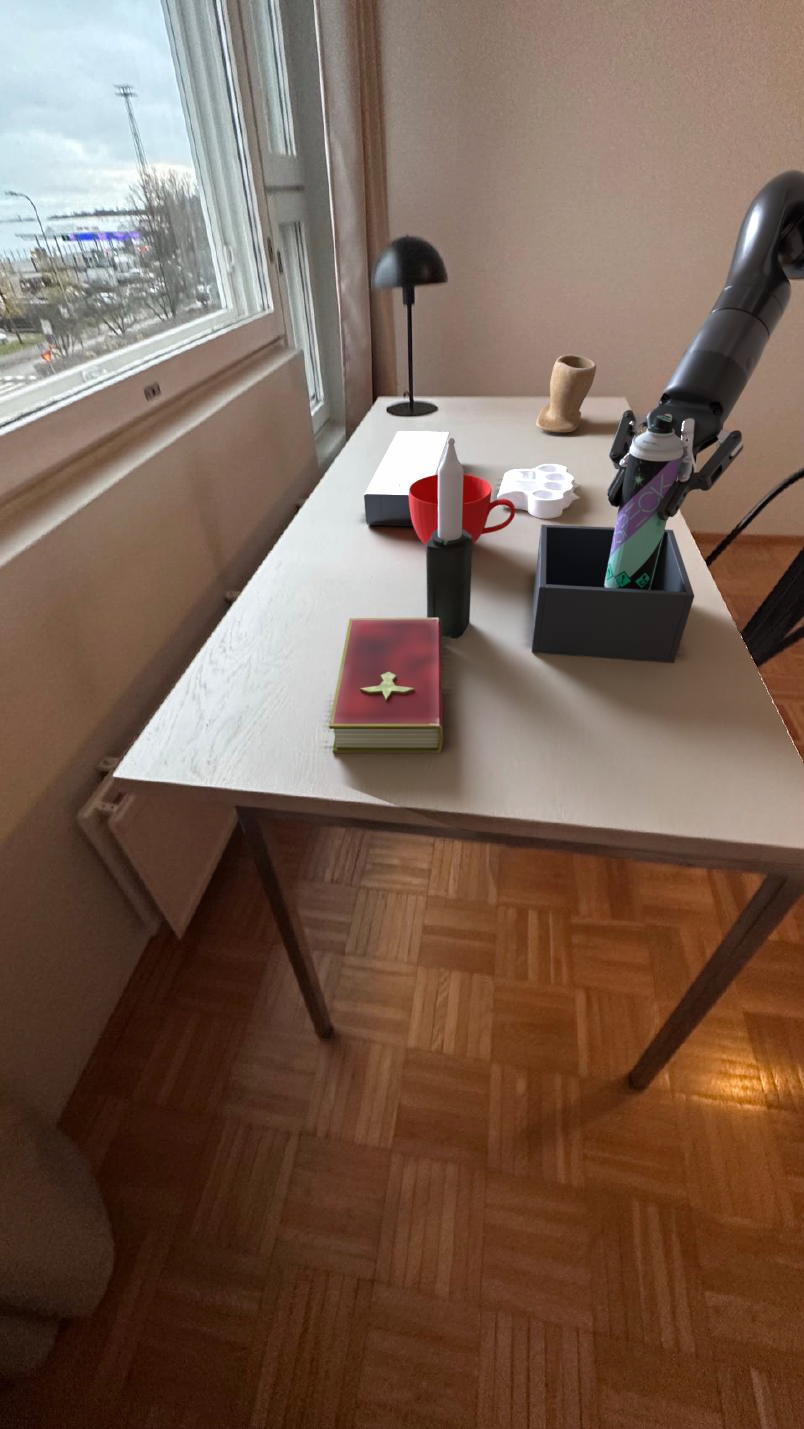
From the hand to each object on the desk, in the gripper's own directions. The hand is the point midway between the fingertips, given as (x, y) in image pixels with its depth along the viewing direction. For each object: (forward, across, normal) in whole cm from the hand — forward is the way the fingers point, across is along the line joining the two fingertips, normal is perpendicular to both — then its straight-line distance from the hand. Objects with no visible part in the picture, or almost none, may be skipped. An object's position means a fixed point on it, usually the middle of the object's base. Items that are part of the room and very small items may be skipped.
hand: (636, 509), depth 71 cm
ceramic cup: (+8, +32, -18) cm, 38 cm away
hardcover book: (+32, +13, +6) cm, 35 cm away
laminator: (-1, +56, -26) cm, 62 cm away
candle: (+21, +18, -5) cm, 28 cm away
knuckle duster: (-10, +35, -36) cm, 51 cm away
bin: (+10, +4, -15) cm, 19 cm away
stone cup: (-37, +56, -63) cm, 92 cm away
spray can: (+6, 0, -9) cm, 11 cm away
